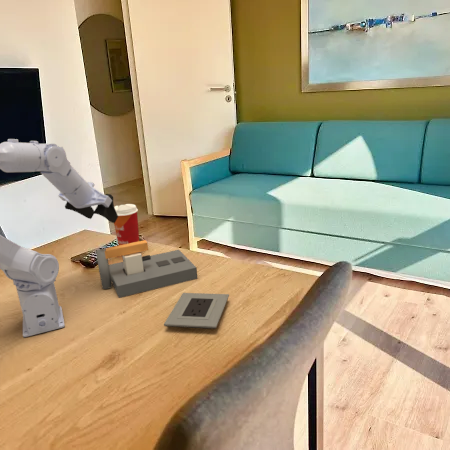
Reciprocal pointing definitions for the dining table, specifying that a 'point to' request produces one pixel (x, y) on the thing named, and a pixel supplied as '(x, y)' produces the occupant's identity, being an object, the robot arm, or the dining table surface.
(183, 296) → the electrical outlet
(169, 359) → the dining table surface
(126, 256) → the plug
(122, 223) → the paper cup
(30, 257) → the robot arm
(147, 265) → the power block
